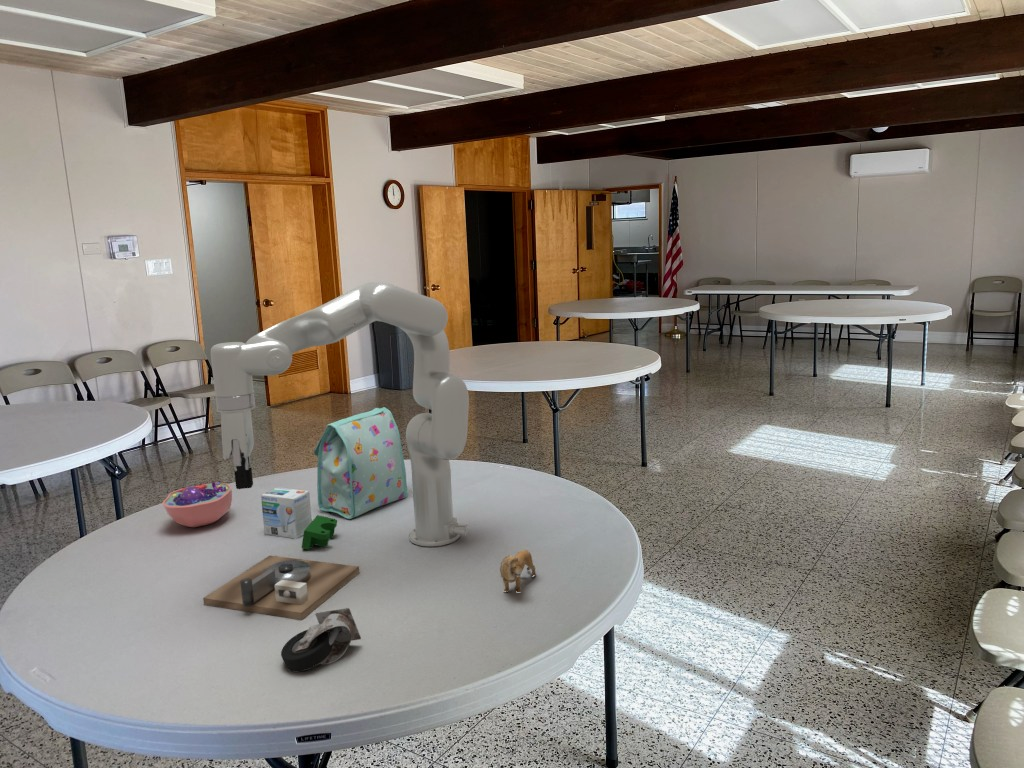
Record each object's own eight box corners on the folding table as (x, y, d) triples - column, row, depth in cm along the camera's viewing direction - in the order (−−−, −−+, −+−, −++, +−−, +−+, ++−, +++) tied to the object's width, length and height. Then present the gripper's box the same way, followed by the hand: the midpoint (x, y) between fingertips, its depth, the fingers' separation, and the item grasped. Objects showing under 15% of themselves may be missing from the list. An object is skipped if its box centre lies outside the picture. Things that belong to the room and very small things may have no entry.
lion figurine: (521, 603, 150) (520, 561, 148) (496, 600, 152) (495, 559, 150) (539, 572, 164) (537, 533, 162) (515, 570, 165) (514, 531, 164)
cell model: (249, 510, 210) (245, 472, 208) (209, 538, 191) (204, 496, 189) (195, 508, 213) (190, 471, 211) (150, 535, 194) (144, 494, 192)
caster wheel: (282, 684, 129) (306, 645, 139) (342, 676, 127) (362, 637, 137) (267, 652, 127) (292, 614, 137) (329, 643, 125) (350, 605, 135)
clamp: (323, 563, 182) (324, 540, 178) (301, 559, 182) (301, 535, 178) (337, 531, 191) (339, 508, 187) (316, 526, 192) (317, 503, 187)
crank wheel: (281, 566, 168) (279, 544, 167) (319, 571, 164) (317, 549, 163) (224, 604, 150) (222, 580, 149) (265, 611, 147) (263, 586, 146)
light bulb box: (263, 534, 192) (259, 494, 190) (280, 525, 198) (276, 486, 196) (297, 539, 188) (293, 498, 186) (313, 529, 194) (310, 490, 192)
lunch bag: (373, 488, 225) (367, 402, 220) (413, 497, 215) (407, 407, 210) (313, 512, 207) (304, 418, 202) (353, 523, 197) (345, 425, 192)
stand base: (359, 572, 167) (357, 551, 166) (301, 620, 146) (299, 596, 145) (270, 561, 175) (268, 541, 174) (203, 605, 154) (200, 582, 153)
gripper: (223, 396, 160) (232, 478, 163) (209, 411, 145) (219, 500, 149) (259, 394, 161) (267, 475, 164) (249, 408, 146) (258, 497, 150)
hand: (244, 487), depth 156 cm, fingers closed
